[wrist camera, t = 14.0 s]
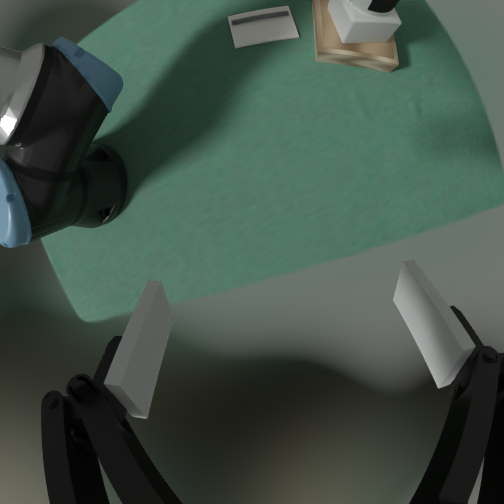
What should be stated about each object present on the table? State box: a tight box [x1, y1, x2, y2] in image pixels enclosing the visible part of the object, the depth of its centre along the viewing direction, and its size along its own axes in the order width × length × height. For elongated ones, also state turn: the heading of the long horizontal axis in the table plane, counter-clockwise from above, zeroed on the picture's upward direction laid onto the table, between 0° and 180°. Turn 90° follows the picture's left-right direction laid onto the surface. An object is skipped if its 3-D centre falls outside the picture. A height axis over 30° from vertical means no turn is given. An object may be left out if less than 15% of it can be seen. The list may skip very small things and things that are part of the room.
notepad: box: [228, 6, 299, 49], centre depth 31 cm, size 10×7×2 cm
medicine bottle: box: [328, 0, 402, 44], centre depth 20 cm, size 7×7×12 cm
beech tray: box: [312, 0, 399, 73], centre depth 28 cm, size 12×12×4 cm
